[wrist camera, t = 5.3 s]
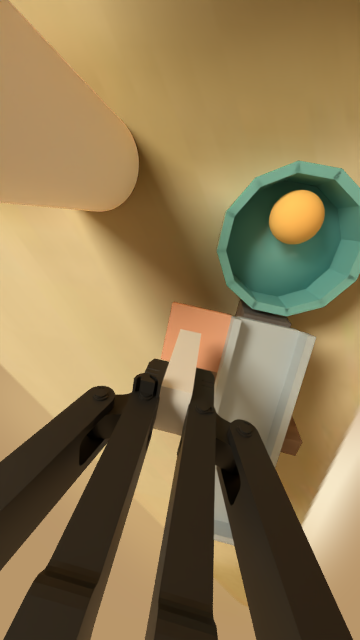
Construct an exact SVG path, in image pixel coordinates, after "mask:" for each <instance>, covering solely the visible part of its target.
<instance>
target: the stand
mask: <svg viewBox="0 0 360 640" xmlns="http://www.w3.org/2000/svg"><path fill="white" fill-rule="evenodd" d="M237 316H240V317H244V318H249V319H253V320H258V321H262V322H266V323H271V324H275V325H280V326H284V327H289V328H290V326H291V323H290V322H289V320H288V319H287V317H286V316H282V315H278V314H273V313H269V312H264V311H260V310H255V309H252V308H251V307H249V306H248V305H247V304H246V303H245V302H244V301H243V300H242V299H240V301H239V305H238V308H237V312H236V315H235V317H237ZM196 368H197V367H196ZM199 369H201V368H199ZM203 370H205V369H203ZM207 371H209V370H207ZM211 372H212V374H213V375H214V377H215V380H216V376H217V372H213V371H211ZM214 384H215V381H214ZM301 444H302V440H301V438H300V435H299V433H298V430H297V427H296V425H295V422H294V420H293V417H292V416H291V419H290V423H289V426H288V429H287V432H286V435H285V439H284V442H283V445H282V448H281V451H280V452H283V453H287V454H290V455H294V456H295V455H296V453H297V451H298V449H299V447H300V446H301Z"/></svg>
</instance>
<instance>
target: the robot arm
mask: <svg viewBox="0 0 360 640" xmlns="http://www.w3.org/2000/svg"><path fill="white" fill-rule="evenodd" d="M200 339H201V333H196V332H192V331H188V330H183V329H180V332H179V335H178V338H177V341H176V344H175V347H174V350H173V353H172V356H171V359H170V362H167V361H163V360H159V359H154V360H152V361H151V362H149V364H148V366H147V368H146V371H145V373H142V374H139V375H137V376H136V377H135V378H134V384H133V391H132V393H129V394H124V395H115V393H114V391H113V390H112V389H111V388H109V387H106V386H97V387H93V388H91V389H90V390H88V391H87V392H86V393H85V394H83V395H82V396H81V397H80V398H78V399H77V400H76V401H75V402H73V403H72V404H71V405H70V406H69V407H67V408H66V409H65V410H64V411H62V412H61V413H60V414H59V415H58V416H56V417H55V418H54V419H53V420H51V421H50V422H49V423H48V424H46V425H45V426H44V427H43V428H42V429H40V430H39V431H38V432H37V433H36V434H34V435H33V436H32V437H31V438H30V439H28V440H27V441H26V442H24V443H23V444H22V445H21V446H19V447H18V448H17V449H16V450H15V451H13V452H12V453H11V454H10V455H9V456H7V457H6V458H5V459H4V460H2V461H1V462H0V570H1V569H2V568H3V567H4V565H5V564H6V563H7V562H8V561H9V559H10V558H11V557H12V556H13V555H14V554H15V553H16V551H17V550H18V549H19V548H20V547H21V545H22V544H23V543H24V542H25V541H26V539H27V538H28V537H29V536H30V535H31V533H32V532H33V531H34V530H35V529H36V527H37V526H38V525H39V524H40V523H41V521H42V520H43V519H44V518H45V516H46V515H47V514H48V513H49V512H50V511H51V509H52V508H53V507H54V506H55V505H56V503H57V502H58V501H59V500H60V499H61V497H62V496H63V495H64V494H65V493H66V491H67V490H68V489H69V488H70V487H71V486H72V484H73V483H74V482H75V481H76V479H77V478H78V477H79V476H80V475H81V473H82V472H83V471H84V470H85V469H86V468H87V466H88V465H89V464H90V463H91V461H92V460H93V459H94V458H95V457H96V456H97V454H98V453H99V452H100V451H101V450H102V448H103V447H104V446H105V445H106V444H107V445H106V447H105V449H104V451H103V453H102V455H101V457H100V459H99V461H98V463H97V465H96V467H95V470H94V471H93V474H92V476H91V478H90V480H89V482H88V484H87V486H86V488H85V490H84V492H83V494H82V496H81V498H80V500H79V502H78V504H77V506H76V508H75V511H74V513H73V515H72V517H71V519H70V521H69V523H68V525H67V527H66V529H65V531H64V533H63V535H62V537H61V539H60V541H59V543H58V545H57V547H56V550H55V551H54V553H53V555H52V558H51V559H50V562H49V563H48V565H47V566H46V568H45V569H44V570H43V571H42V572H41V573H39V574H38V576H37V577H36V579H35V580H34V581H33V583H32V585H31V587H30V589H29V590H28V592H27V594H26V596H25V598H24V600H23V602H22V604H21V606H20V608H19V610H18V612H17V614H16V616H15V618H14V620H13V622H12V624H11V626H10V628H9V630H8V632H7V634H6V636H5V637H4V640H90V638H91V634H92V631H93V627H94V623H95V620H96V617H97V614H98V610H99V607H100V603H101V601H102V597H103V594H104V591H105V587H106V584H107V581H108V577H109V574H110V571H111V568H112V564H113V561H114V558H115V554H116V551H117V548H118V544H119V541H120V538H121V535H122V531H123V528H124V525H125V521H126V518H127V514H128V511H129V508H130V505H131V502H132V498H133V495H134V492H135V488H136V485H137V482H138V479H139V475H140V472H141V469H142V465H143V462H144V459H145V455H146V452H147V449H148V446H149V442H150V439H151V435H152V430H153V428H154V429H158V430H162V431H166V432H170V433H174V434H177V435H181V440H180V444H179V448H178V452H177V461H176V466H175V472H174V478H173V483H172V489H171V495H170V500H169V506H168V512H167V517H166V523H165V529H164V534H163V540H162V546H161V551H160V557H159V563H158V569H157V574H156V580H155V585H154V591H153V597H152V602H151V608H150V614H149V619H148V625H147V631H146V636H145V640H218V636H217V628H216V625H215V622H214V619H213V558H214V502H215V465H216V469H217V473H218V478H219V482H220V486H221V490H222V495H223V499H224V503H225V507H226V512H227V516H228V520H229V525H230V529H231V533H232V537H233V542H234V546H235V550H236V554H237V559H238V563H239V567H240V571H241V576H242V580H243V584H244V589H245V593H246V597H247V601H248V606H249V610H250V614H251V618H252V623H253V627H254V631H255V636H256V639H257V640H353V639H352V636H351V634H350V632H349V630H348V628H347V626H346V623H345V621H344V619H343V617H342V615H341V612H340V610H339V608H338V606H337V604H336V601H335V599H334V597H333V595H332V593H331V590H330V588H329V586H328V584H327V582H326V579H325V578H324V575H323V573H322V571H321V568H320V566H319V564H318V562H317V560H316V558H315V555H314V553H313V551H312V549H311V546H310V544H309V542H308V540H307V538H306V536H305V533H304V531H303V529H302V527H301V524H300V522H299V520H298V518H297V516H296V513H295V511H294V509H293V507H292V505H291V502H290V500H289V498H288V496H287V494H286V492H285V489H284V487H283V485H282V483H281V481H280V478H279V476H278V474H277V472H276V470H275V467H274V465H273V463H272V461H271V459H270V456H269V454H268V452H267V450H266V448H265V445H264V443H263V441H262V439H261V437H260V434H259V432H258V430H257V429H256V427H255V426H253V425H252V424H251V423H250V422H248V421H246V420H241V419H237V420H234V421H232V422H231V423H230V422H228V421H226V420H225V419H223V418H221V417H220V416H219V415H218V414H217V413H216V410H215V408H214V381H215V377H214V375H213V374H212V372H211V371H207V370H203V369H199V368H196V366H197V359H198V352H199V346H200ZM107 442H108V443H107Z"/></svg>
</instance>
